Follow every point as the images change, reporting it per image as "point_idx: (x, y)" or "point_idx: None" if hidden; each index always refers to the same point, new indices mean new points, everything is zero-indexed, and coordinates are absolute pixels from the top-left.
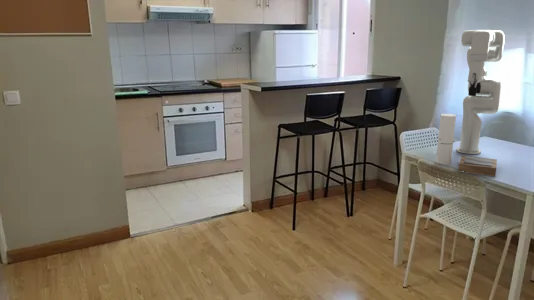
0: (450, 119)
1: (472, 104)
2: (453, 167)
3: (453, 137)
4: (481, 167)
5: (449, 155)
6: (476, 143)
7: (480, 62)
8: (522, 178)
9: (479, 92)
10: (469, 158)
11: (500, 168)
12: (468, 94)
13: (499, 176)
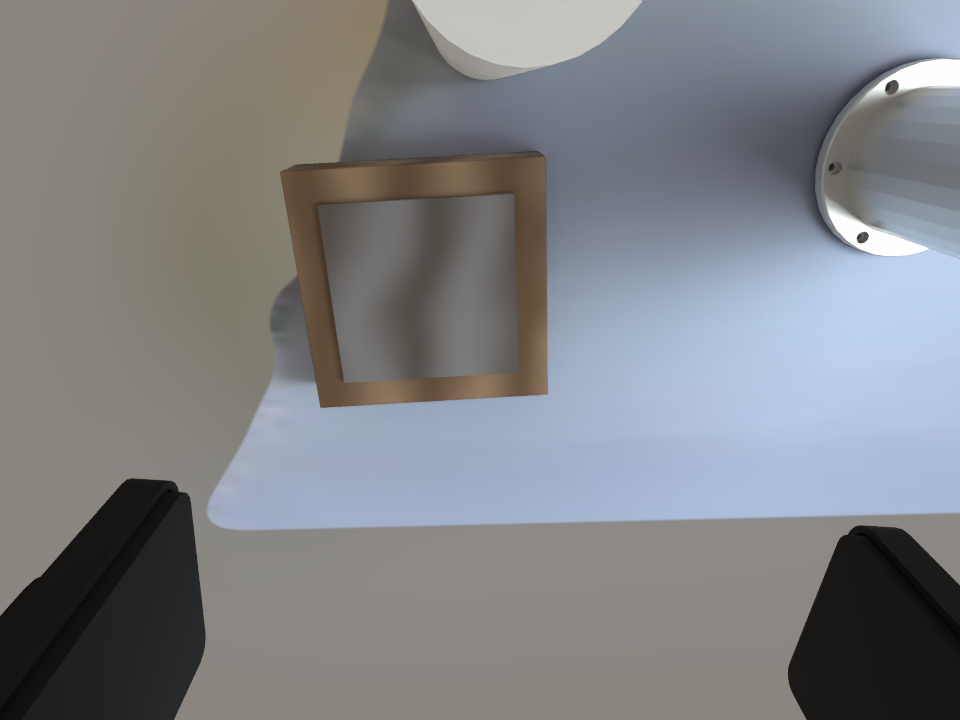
0: None
1: None
2: (386, 117)
3: (490, 75)
4: (307, 323)
5: (451, 64)
6: (905, 235)
7: None
8: (380, 500)
9: (793, 691)
10: (456, 229)
11: None
12: (113, 494)
13: None
